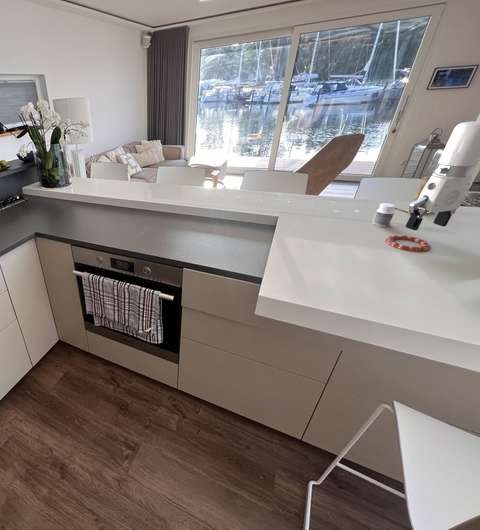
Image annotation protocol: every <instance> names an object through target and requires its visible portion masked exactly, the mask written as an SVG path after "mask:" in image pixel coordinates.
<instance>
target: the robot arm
mask: <svg viewBox="0 0 480 530" xmlns="http://www.w3.org/2000/svg"><path fill="white" fill-rule="evenodd" d="M479 162H480V121H477V120H476V121H473V120H472V121H464V122H460V123H458V124H457V125H456V126H455V127H454V128H453V130H452V132H451V134H450V137H449V139H448V141H447V142H446V145H445V147H444V149H443V151H442V153H441V155H440V157H439V160H438V161H437V164H436V166H435V168H434V170H433V172H432V175H431V176H430V177H431V178H430V179H429V181H428V182H427V184H426V185H425V187H424V189H423V190H422V192H421V194H420V196H419V198H418V200H416V201H414V200H413V201H414V202H413V201H412V202H410V203H411V204H410V203H409V204H410V205H409V209H410V210H409V213H410V214H409V213H408V215H409V218H408V220H407V221H406V224H405V228H407V229H409V230H411V231H418V230H419V228H420V226H421V224H422V222H423V219H424V218H423V217H424V216H425V215H426V213H427V212H428V211H429V212H431V213H430V214H433V213H434V214H435V213H437V214H436V216H435V218H434V219H433V222H432V223H433V224H435V225H437V226H440V227H442V228H443V227H446V226H448V224H449V221H450V219H451V217H452V216H453V214H455V213H456V211H457V210H458V209H459V208H460V207H461V205H462V204H463V203H464V202H465V201H466V195H467V193H468V190H469V189H470V185H471V183H472V180H473V179H472V178H473V173H474V172H475V170H476V168H477V166H478V165H479ZM419 210H422V212H421V213H419ZM427 214H428V213H427Z"/></svg>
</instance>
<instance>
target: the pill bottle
mask: <svg viewBox="0 0 480 530" xmlns="http://www.w3.org/2000/svg"><path fill="white" fill-rule="evenodd" d="M395 206H396V205H395V204H393V203H389V202H383V203H380V205H379V208H378V209H376V212H375V215H374V218H373V220H372V224H371V225H373V226H376V227H378V228H379V227H380V228H388V227H390V225H391V222H392V219H393V217H394V216H395V210H396V209H395Z"/></svg>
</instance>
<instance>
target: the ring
mask: <svg viewBox="0 0 480 530" xmlns="http://www.w3.org/2000/svg"><path fill="white" fill-rule="evenodd" d="M396 241H409V242H413V243H415V244H418V245H419V246H411V245H405V244H401V243H398V242H396ZM384 242H385V243H386V244H387V245H388V246H390V247H392V248H395V249H398V250H402V251H406V252H412V253H413V252H415V253H422V252H428V251H429V250H430V249H431V245H430V244H429V243H428V242H427V241H426V240H424V239H422V238H419V237H414V236H410V235H403V234H394V235H390V236H388V237H386V238H385V240H384Z"/></svg>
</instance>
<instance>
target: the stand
mask: <svg viewBox="0 0 480 530" xmlns="http://www.w3.org/2000/svg"><path fill="white" fill-rule="evenodd" d="M430 178H431V176H423V178H422V180H421V182H420V185H419V187H418V190H417V192H416V194H415V196H414V199H413V200H412V202H414V201H416V200H418V198H419V196H420V194H421V192H422V190H423V189H424V187H425V185H426V184H427V182H428V181H429V179H430ZM406 210H407V211H409V210H410V209H409V208H407V209H406ZM421 212H422V210H419V213H421ZM428 212H429V211H428Z"/></svg>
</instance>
